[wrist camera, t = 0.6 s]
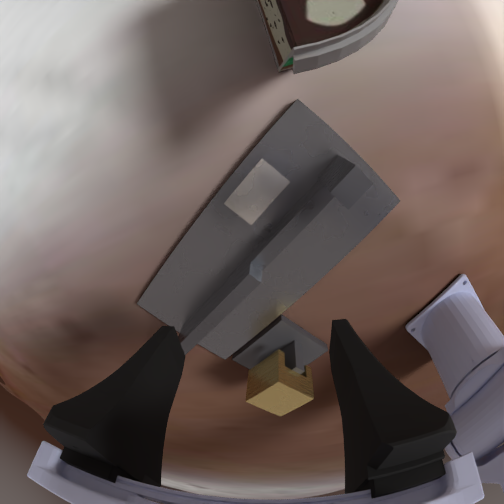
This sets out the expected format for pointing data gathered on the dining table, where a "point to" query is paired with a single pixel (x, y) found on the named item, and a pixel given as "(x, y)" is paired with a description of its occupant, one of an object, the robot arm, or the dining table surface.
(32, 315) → the dining table surface
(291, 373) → the clip
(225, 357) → the rail
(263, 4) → the food container
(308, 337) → the grey finned base plate
